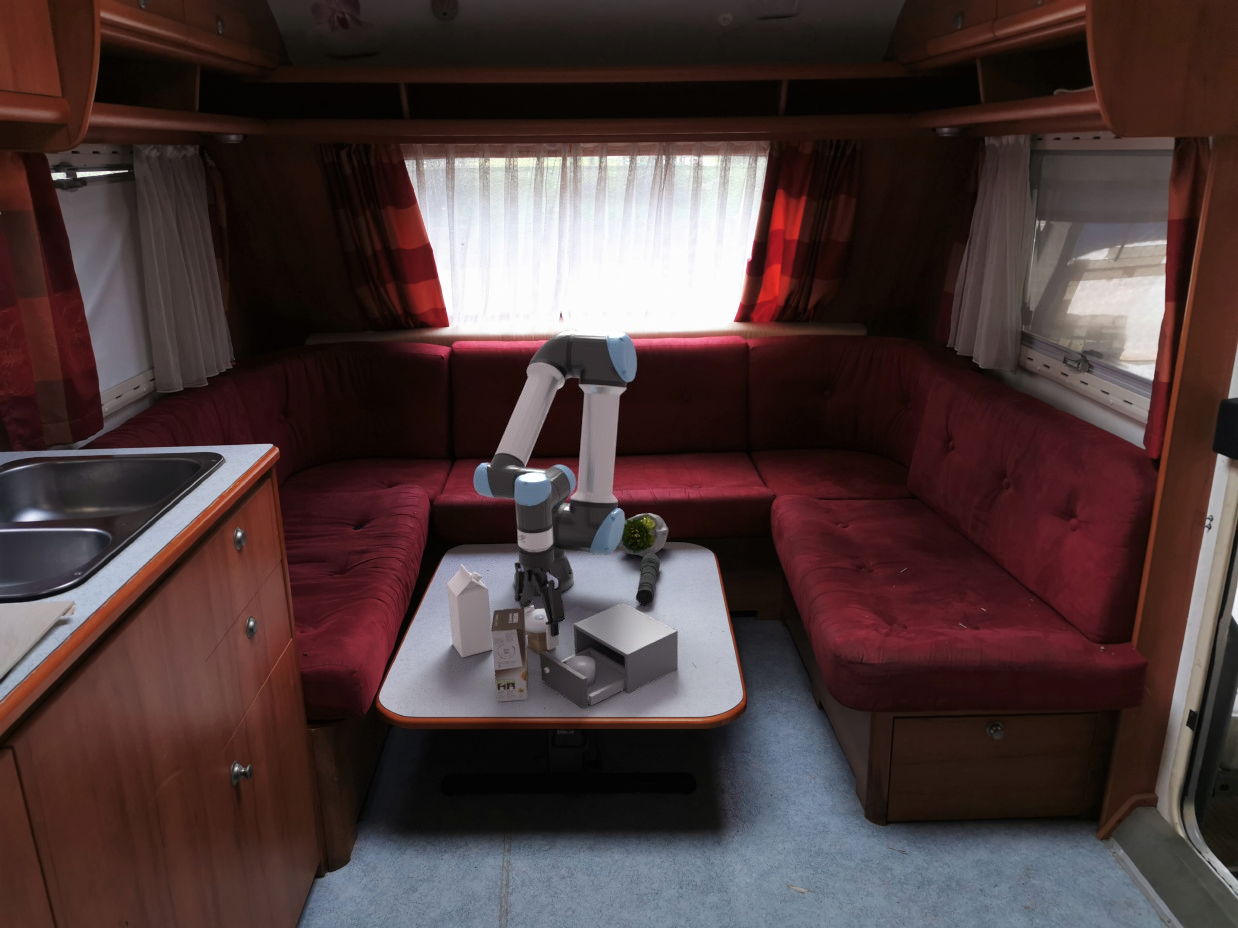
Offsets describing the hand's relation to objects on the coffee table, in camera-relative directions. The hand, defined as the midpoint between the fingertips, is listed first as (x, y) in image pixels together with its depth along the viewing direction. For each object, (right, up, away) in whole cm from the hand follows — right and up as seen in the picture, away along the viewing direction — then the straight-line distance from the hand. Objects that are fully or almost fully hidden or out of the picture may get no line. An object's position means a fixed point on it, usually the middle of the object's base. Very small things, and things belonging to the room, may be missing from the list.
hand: (541, 639), depth 200 cm
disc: (0, +4, -1) cm, 4 cm away
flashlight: (+24, +8, +28) cm, 38 cm away
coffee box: (-5, -7, -14) cm, 17 cm away
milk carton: (-15, -2, +2) cm, 16 cm away
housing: (+19, -4, -7) cm, 20 cm away
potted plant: (+24, +14, +47) cm, 54 cm away
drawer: (+11, -6, -13) cm, 18 cm away
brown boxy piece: (0, -2, +1) cm, 2 cm away
